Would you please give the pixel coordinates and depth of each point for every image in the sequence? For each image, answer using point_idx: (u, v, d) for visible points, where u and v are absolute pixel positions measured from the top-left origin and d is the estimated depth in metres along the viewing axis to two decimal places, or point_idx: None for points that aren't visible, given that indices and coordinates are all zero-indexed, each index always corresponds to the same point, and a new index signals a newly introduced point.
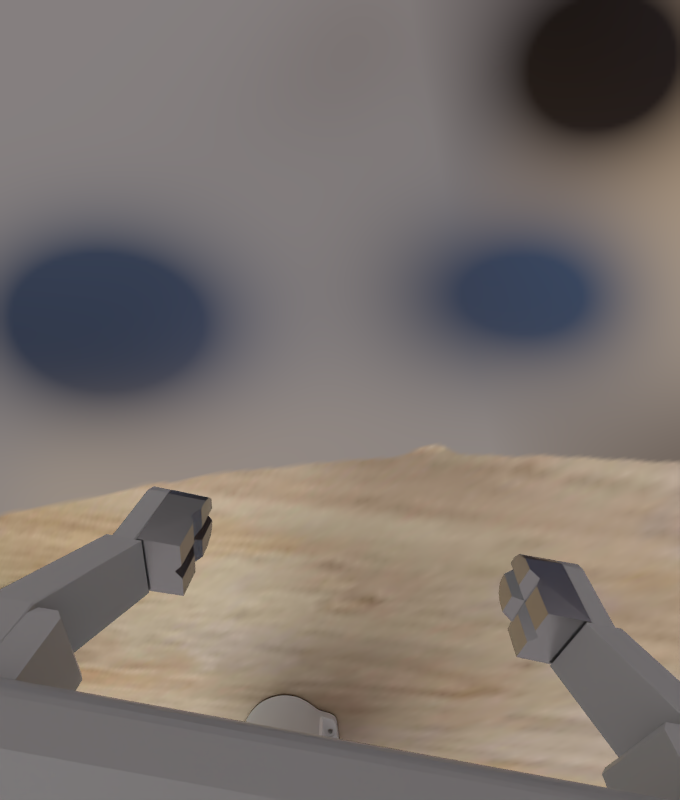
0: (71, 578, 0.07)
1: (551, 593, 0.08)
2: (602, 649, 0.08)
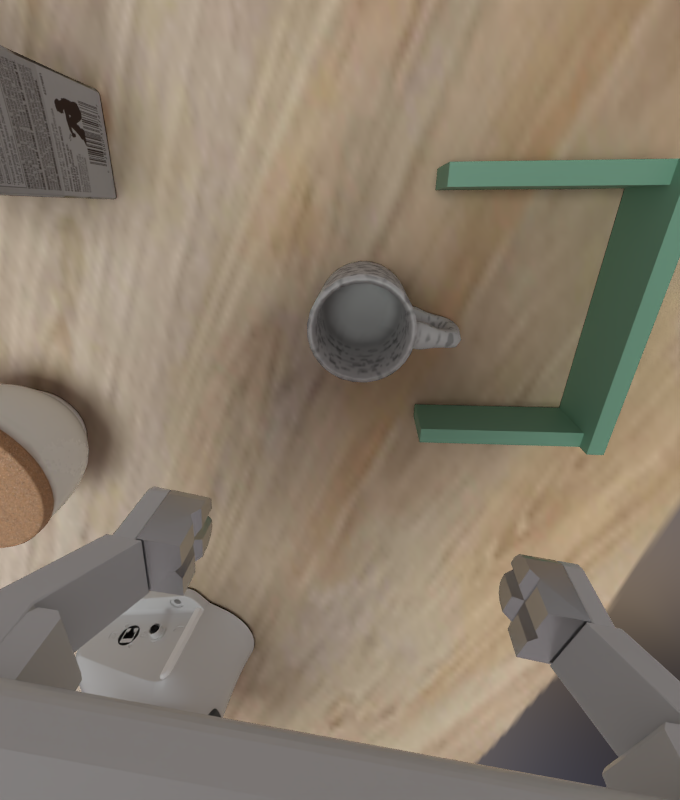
0: (71, 578, 0.07)
1: (551, 593, 0.08)
2: (602, 650, 0.08)
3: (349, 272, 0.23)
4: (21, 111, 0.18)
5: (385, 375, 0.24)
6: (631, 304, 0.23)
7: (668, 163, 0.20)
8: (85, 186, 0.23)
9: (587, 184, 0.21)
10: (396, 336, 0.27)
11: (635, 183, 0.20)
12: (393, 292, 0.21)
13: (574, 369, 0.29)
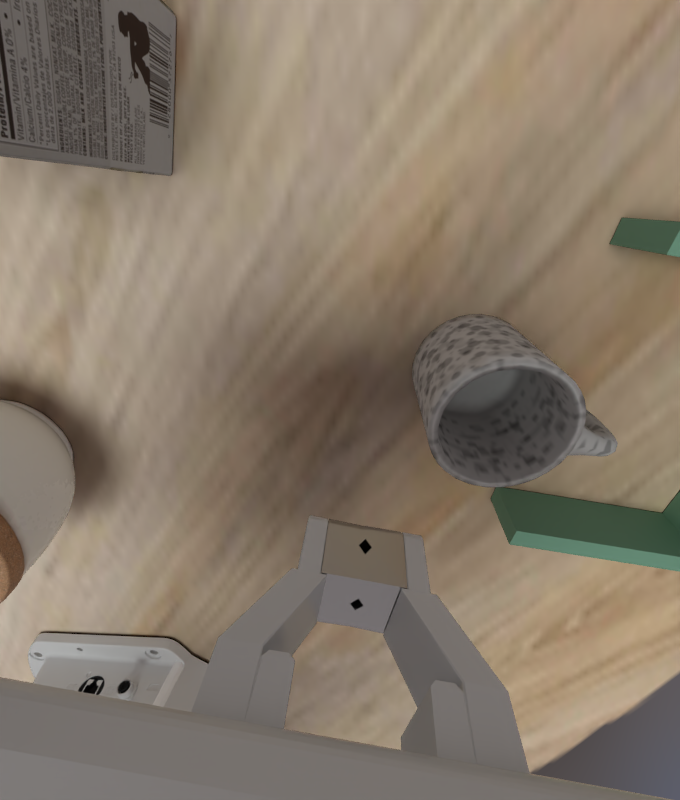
0: (284, 618, 0.07)
1: (377, 561, 0.08)
2: (411, 614, 0.08)
3: (499, 343, 0.16)
4: (68, 19, 0.11)
5: (515, 483, 0.18)
6: None
7: None
8: (138, 155, 0.15)
9: None
10: (515, 419, 0.21)
11: None
12: (568, 388, 0.15)
13: None
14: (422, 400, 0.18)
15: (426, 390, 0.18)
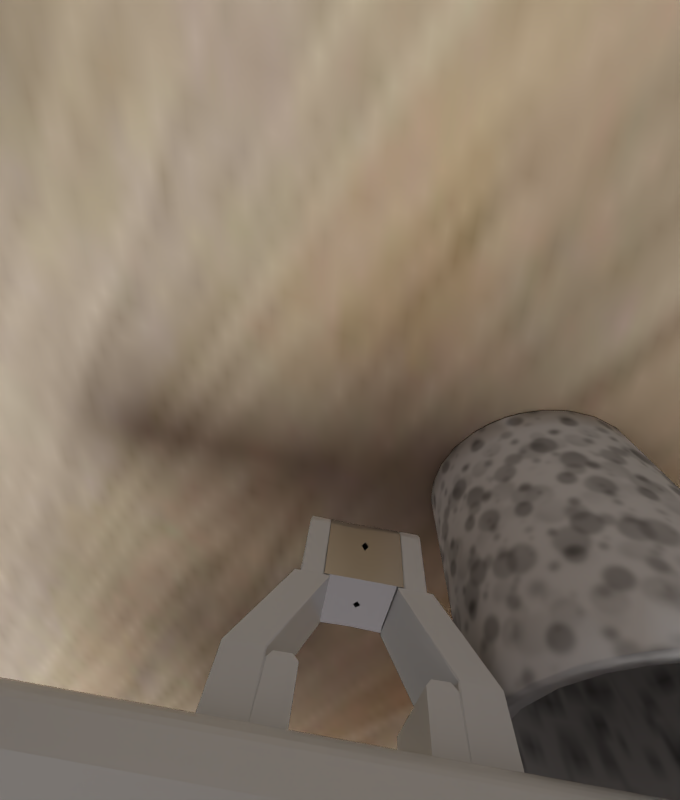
0: (287, 618, 0.07)
1: (374, 560, 0.08)
2: (407, 614, 0.08)
3: (657, 541, 0.07)
4: None
5: None
6: None
7: None
8: None
9: None
10: None
11: None
12: None
13: None
14: (458, 611, 0.09)
15: (469, 599, 0.08)
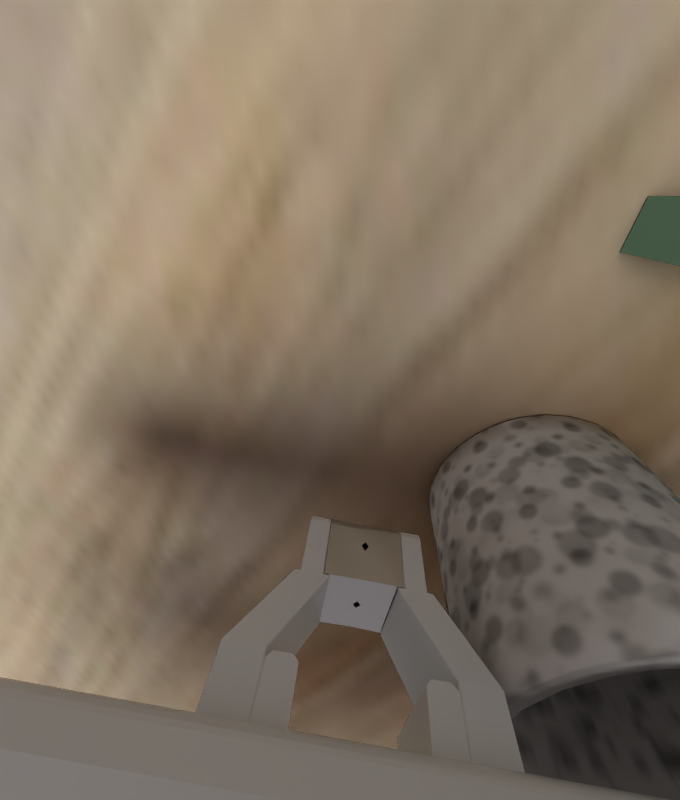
0: (288, 618, 0.07)
1: (374, 560, 0.08)
2: (407, 613, 0.08)
3: (662, 548, 0.07)
4: None
5: None
6: None
7: None
8: None
9: None
10: None
11: None
12: None
13: None
14: (458, 610, 0.09)
15: (470, 599, 0.08)
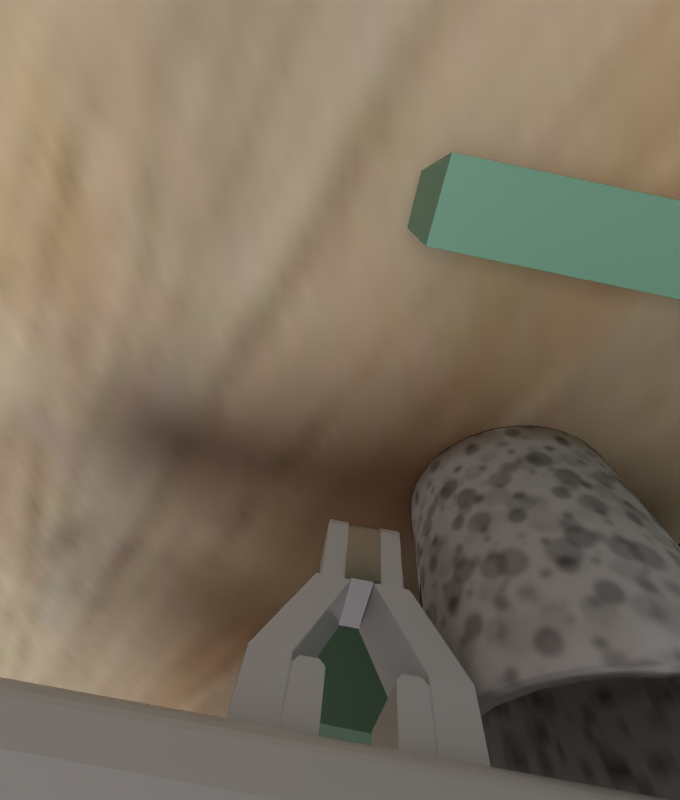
0: (311, 623, 0.07)
1: (352, 556, 0.08)
2: (382, 609, 0.08)
3: (645, 563, 0.07)
4: None
5: None
6: None
7: None
8: None
9: None
10: None
11: None
12: None
13: None
14: (435, 606, 0.09)
15: (450, 595, 0.08)
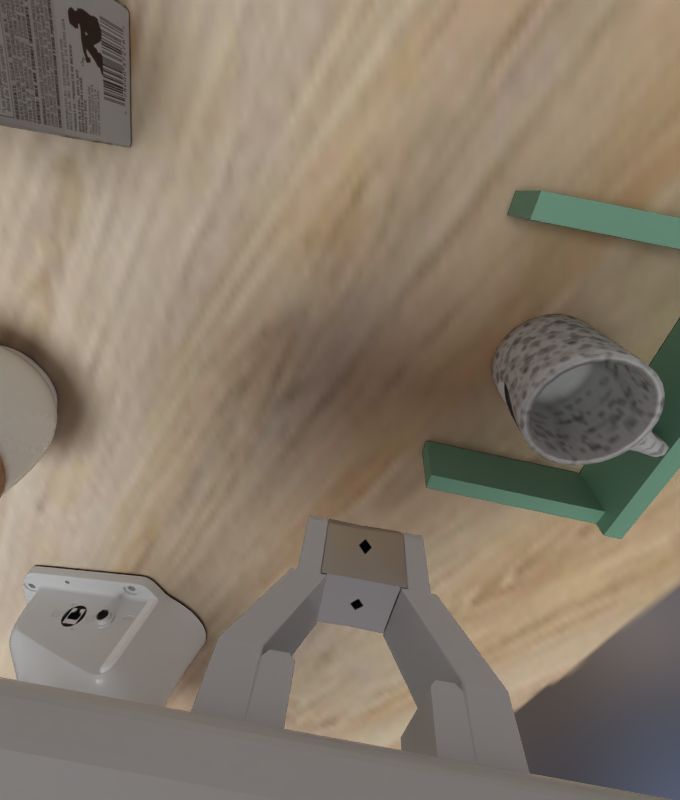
0: (284, 618, 0.07)
1: (377, 561, 0.08)
2: (411, 614, 0.08)
3: (601, 341, 0.19)
4: (19, 15, 0.14)
5: (580, 463, 0.21)
6: None
7: None
8: (93, 127, 0.19)
9: None
10: (579, 413, 0.24)
11: None
12: (655, 389, 0.18)
13: None
14: (516, 377, 0.21)
15: (523, 369, 0.21)
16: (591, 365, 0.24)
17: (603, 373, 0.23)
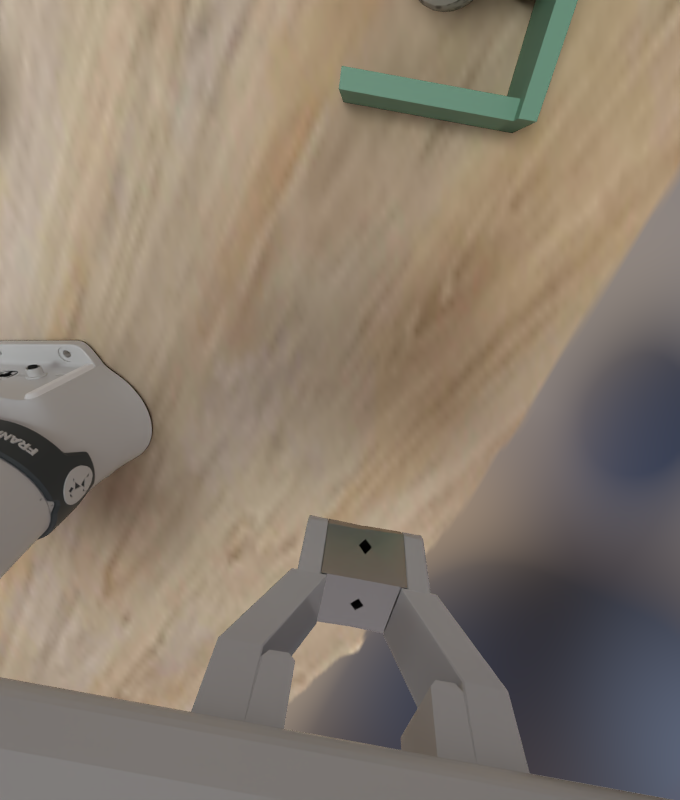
0: (284, 618, 0.07)
1: (377, 561, 0.08)
2: (410, 614, 0.08)
3: None
4: None
5: None
6: None
7: None
8: None
9: None
10: None
11: None
12: None
13: (524, 44, 0.26)
14: None
15: None
16: None
17: None
